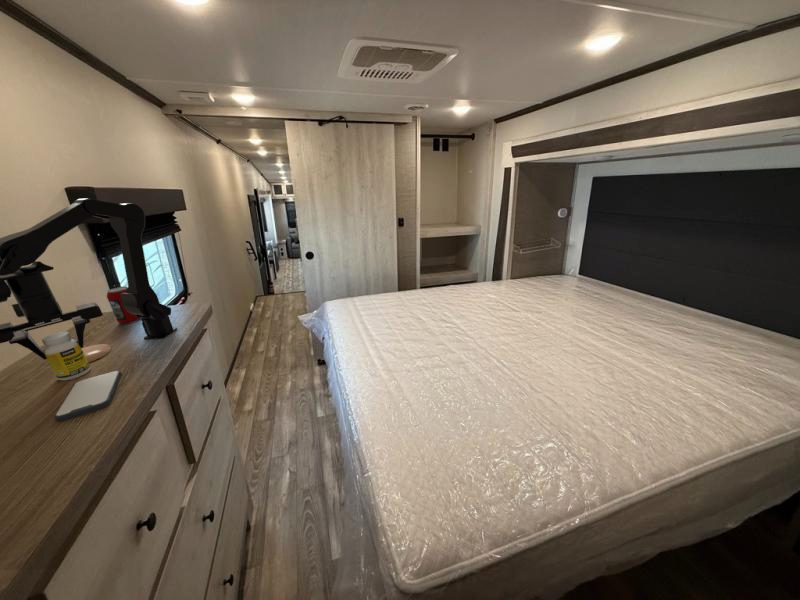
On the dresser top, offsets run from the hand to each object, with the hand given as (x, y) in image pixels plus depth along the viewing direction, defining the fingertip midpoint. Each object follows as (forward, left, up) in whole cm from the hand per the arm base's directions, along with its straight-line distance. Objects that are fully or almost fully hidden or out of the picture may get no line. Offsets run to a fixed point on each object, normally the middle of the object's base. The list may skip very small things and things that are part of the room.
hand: (64, 353), depth 78 cm
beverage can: (+13, -33, -6) cm, 36 cm away
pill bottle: (0, 0, -6) cm, 6 cm away
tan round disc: (+6, -9, -6) cm, 12 cm away
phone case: (-13, +9, -7) cm, 17 cm away
